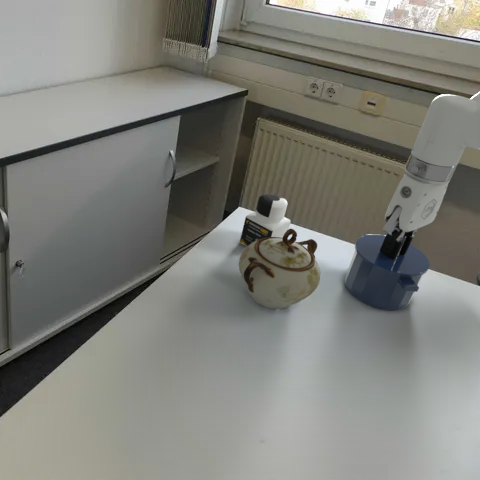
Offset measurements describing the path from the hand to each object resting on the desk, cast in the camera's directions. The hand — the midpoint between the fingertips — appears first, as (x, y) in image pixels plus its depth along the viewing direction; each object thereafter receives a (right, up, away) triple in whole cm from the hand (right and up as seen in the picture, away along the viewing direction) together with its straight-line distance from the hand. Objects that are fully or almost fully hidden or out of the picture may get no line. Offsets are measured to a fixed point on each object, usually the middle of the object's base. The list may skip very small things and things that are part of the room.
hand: (392, 252), depth 105 cm
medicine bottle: (-21, +1, +16) cm, 27 cm away
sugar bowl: (-23, -9, +1) cm, 25 cm away
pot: (-1, -8, +5) cm, 9 cm away
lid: (0, -1, 0) cm, 1 cm away
